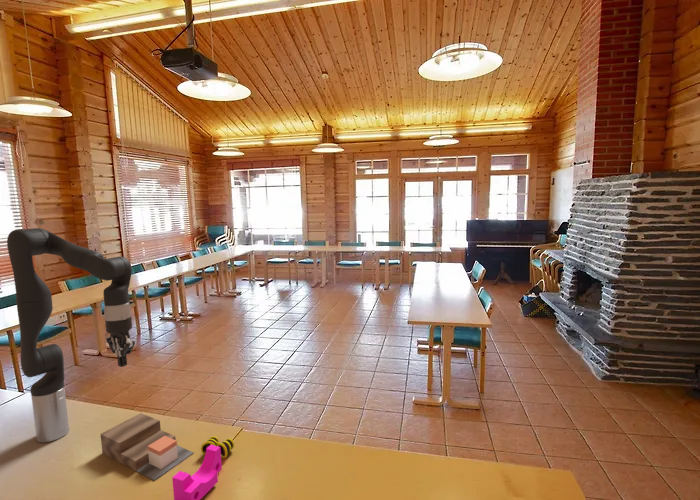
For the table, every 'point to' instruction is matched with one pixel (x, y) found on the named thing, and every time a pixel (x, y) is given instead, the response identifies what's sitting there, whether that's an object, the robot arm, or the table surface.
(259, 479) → the table surface
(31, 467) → the table surface
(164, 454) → the cube
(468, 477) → the table surface
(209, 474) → the magenta clamp bracket
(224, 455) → the opera glasses
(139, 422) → the stair block
